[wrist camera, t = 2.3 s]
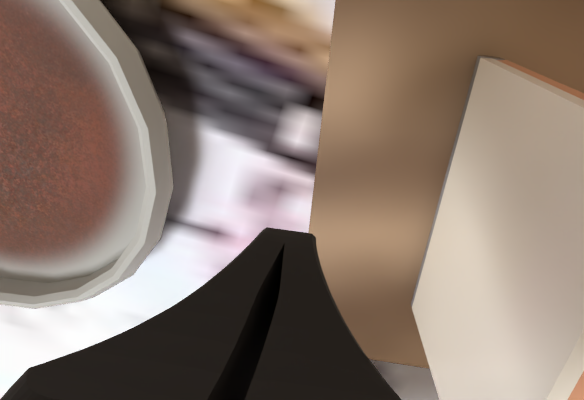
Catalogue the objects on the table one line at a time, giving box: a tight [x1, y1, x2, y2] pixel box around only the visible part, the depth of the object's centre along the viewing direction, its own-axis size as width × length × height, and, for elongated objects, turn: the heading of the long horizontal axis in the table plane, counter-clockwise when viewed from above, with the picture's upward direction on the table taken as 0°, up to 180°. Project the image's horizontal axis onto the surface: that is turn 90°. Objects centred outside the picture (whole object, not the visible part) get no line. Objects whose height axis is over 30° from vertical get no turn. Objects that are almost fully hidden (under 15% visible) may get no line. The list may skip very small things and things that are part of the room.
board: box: [309, 0, 584, 369], centre depth 16 cm, size 18×16×1 cm
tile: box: [411, 55, 584, 400], centre depth 12 cm, size 10×9×1 cm
